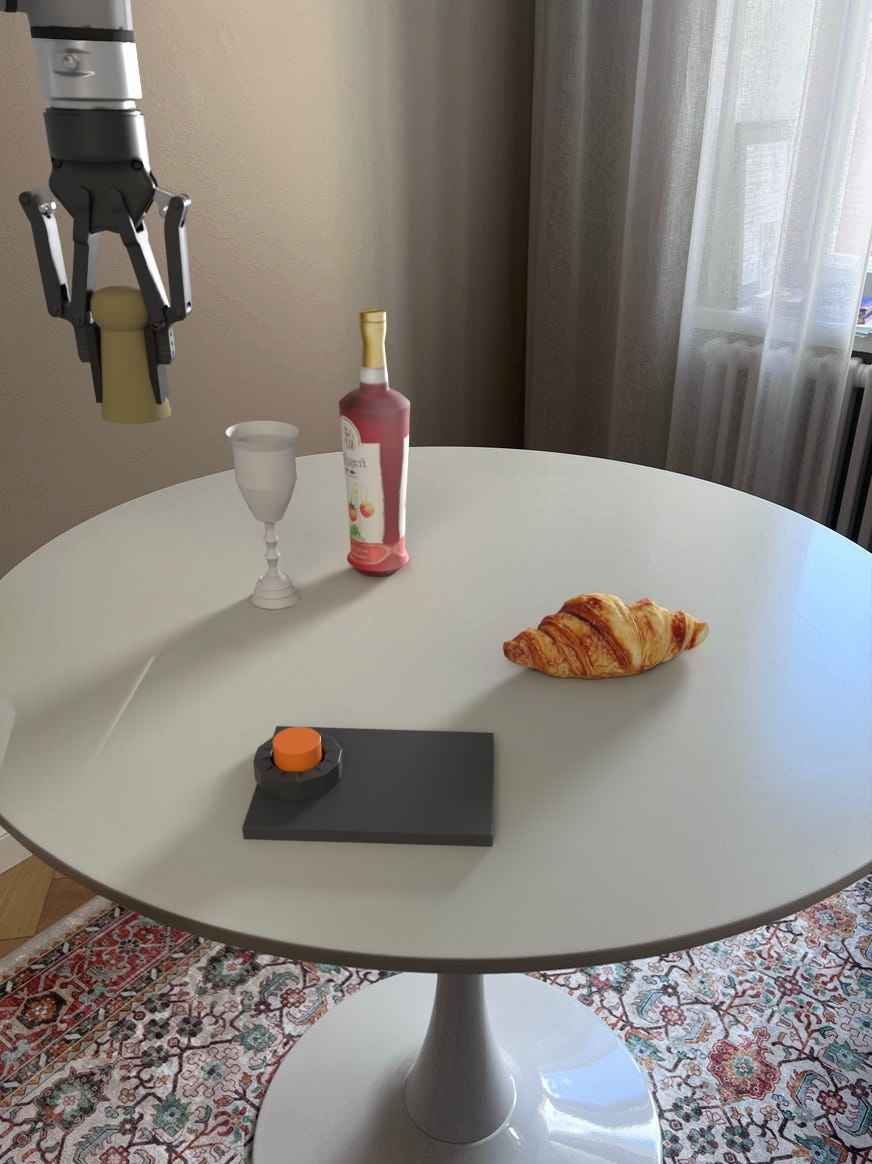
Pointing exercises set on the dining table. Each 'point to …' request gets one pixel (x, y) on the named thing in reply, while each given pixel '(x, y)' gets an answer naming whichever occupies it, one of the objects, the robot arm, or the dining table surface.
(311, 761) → the switch
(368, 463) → the liquor
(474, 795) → the base
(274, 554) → the chalice
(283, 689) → the dining table surface
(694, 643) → the croissant
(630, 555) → the dining table surface
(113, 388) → the cork
